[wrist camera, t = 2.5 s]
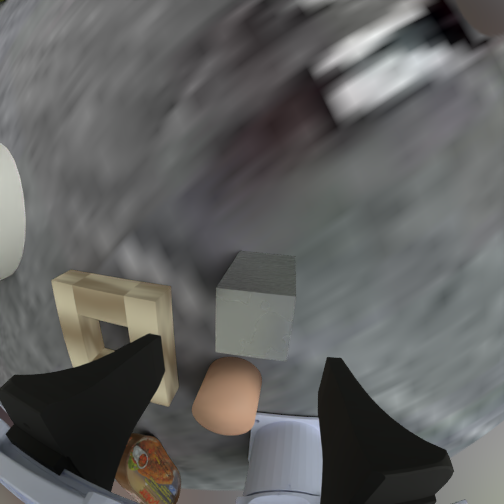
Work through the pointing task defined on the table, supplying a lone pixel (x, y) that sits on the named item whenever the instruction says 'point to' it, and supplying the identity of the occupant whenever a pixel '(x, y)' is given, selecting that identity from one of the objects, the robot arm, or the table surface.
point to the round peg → (228, 396)
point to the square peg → (256, 306)
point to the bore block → (115, 318)
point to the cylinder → (10, 215)
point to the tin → (148, 471)
